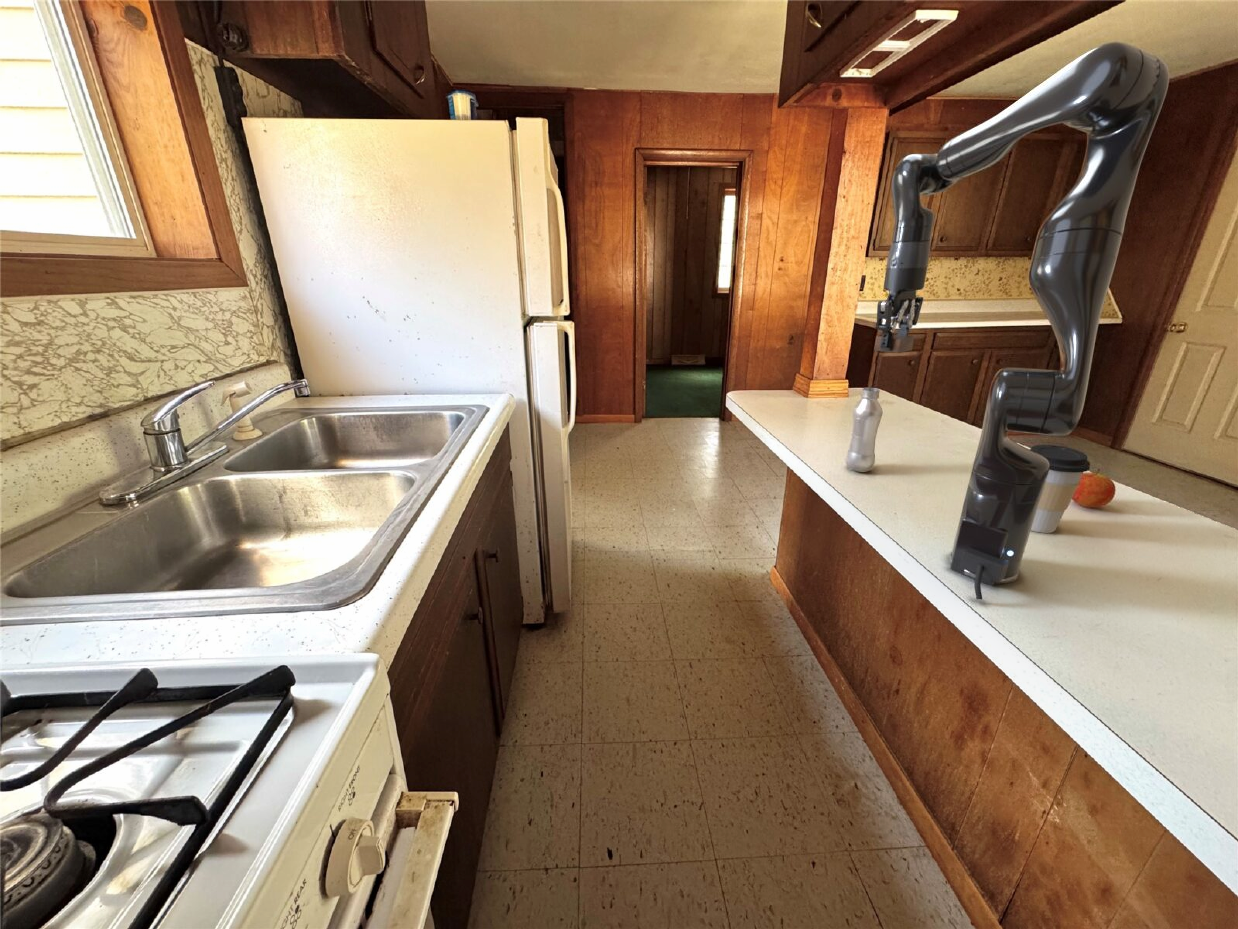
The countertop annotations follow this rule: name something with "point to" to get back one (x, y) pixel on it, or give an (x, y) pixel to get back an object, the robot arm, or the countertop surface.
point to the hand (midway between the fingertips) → (893, 347)
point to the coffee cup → (1058, 484)
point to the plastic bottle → (864, 431)
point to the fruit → (1094, 490)
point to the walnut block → (897, 343)
